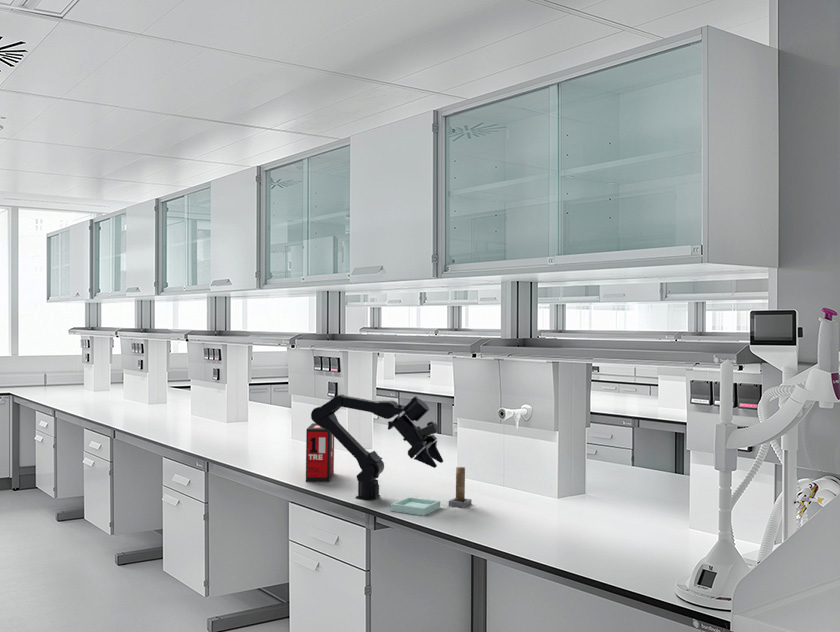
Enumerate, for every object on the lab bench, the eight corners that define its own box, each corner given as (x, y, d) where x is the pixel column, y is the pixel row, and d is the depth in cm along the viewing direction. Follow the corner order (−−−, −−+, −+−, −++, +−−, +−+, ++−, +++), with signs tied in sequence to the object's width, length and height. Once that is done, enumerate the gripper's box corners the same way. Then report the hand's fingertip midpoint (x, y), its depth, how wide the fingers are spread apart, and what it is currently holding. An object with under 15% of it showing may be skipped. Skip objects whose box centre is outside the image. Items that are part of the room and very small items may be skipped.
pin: (454, 505, 259) (454, 468, 259) (457, 503, 262) (458, 466, 262) (462, 506, 258) (462, 468, 258) (465, 504, 260) (466, 467, 260)
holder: (448, 505, 258) (448, 500, 258) (455, 502, 263) (455, 497, 264) (464, 507, 256) (464, 502, 256) (471, 504, 261) (471, 499, 261)
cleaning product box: (311, 473, 310) (312, 423, 310) (333, 473, 310) (334, 423, 310) (305, 481, 293) (306, 429, 293) (329, 482, 293) (329, 429, 293)
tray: (390, 510, 250) (391, 504, 250) (408, 503, 261) (408, 496, 261) (423, 515, 245) (423, 508, 245) (440, 507, 255) (440, 501, 255)
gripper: (417, 417, 254) (449, 453, 251) (431, 411, 272) (461, 444, 269) (394, 440, 256) (425, 475, 253) (409, 432, 274) (439, 465, 271)
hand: (439, 464), depth 262 cm, fingers open, 9 cm apart
